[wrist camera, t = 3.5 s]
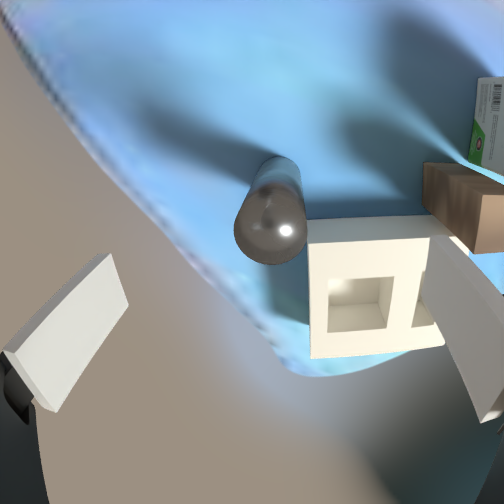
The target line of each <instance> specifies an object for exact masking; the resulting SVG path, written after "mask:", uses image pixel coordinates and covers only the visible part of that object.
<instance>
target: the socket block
mask: <svg viewBox="0 0 504 504" xmlns="http://www.w3.org/2000/svg"><path fill="white" fill-rule="evenodd" d="M306 221H307V229H308V235H307V256H308V286H309V331H310V359H316V358H334V357H348V356H361V355H372V354H382V353H391V352H399V351H407V350H415V349H421V348H429V347H435V346H441V345H444V343H445V340H444V338H443V336H442V334H441V332H440V330H439V328H438V326H437V324H436V322H435V321H434V319H433V317H432V315H431V313H430V311H429V309H428V308H427V306H426V304H425V302H424V300H423V298H422V297H421V292H422V287H423V281H424V276H425V270H426V263H427V256H428V249H429V241H430V235H447V236H448V237H449V238H450V239H451V240H452V241H453V242H454V243H455V244H456V245H457V246H458V247H459V248H460V249H461V250H462V251H463V252H464V253H465V254H466V255H467V256H468V253H469V249H468V248H467V247H466V246H465V245H464V244H463V243H462V242H461V241H460V240H459V239H458V238H457V237H456V236H455V235H454V234H453V233H452V232H451V231H450V230H449V229H448V228H447V227H445V226H444V225H443V224H442V223H441V222H440V221H439V220H438V219H437V218H436V217H435V216H434V215H409V216H380V217H355V218H333V219H314V220H306Z"/></svg>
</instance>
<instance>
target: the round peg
mask: <svg viewBox="0 0 504 504" xmlns="http://www.w3.org/2000/svg"><path fill="white" fill-rule="evenodd" d="M307 235H308V229H307V221H306V213H305V205H304V197H303V190H302V183H301V176H300V171H299V169H298V167H297V165H296V164H295V163H294V162H293V161H291V160H290V159H288V158H285V157H273V158H270V159H268V160H267V161H265V162H264V163H263V164H262V166H261V167H260V169H259V171H258V173H257V175H256V177H255V179H254V181H253V183H252V186H251V188H250V190H249V192H248V194H247V196H246V198H245V200H244V202H243V204H242V206H241V208H240V210H239V212H238V214H237V217H236V219H235V223H234V237H235V240H236V243H237V245H238V247H239V248H240V250H241V251H242V252H243V253H244V254H245V255H246V256H247V257H249V258H250V259H252V260H254V261H256V262H258V263H262V264H267V265H276V264H282V263H285V262H287V261H289V260H291V259H293V258H294V257H296V256H297V255H298V254H299V253H300V252H301V250H302V249H303V247H304V245H305V243H306V240H307Z"/></svg>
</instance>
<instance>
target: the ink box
mask: <svg viewBox="0 0 504 504" xmlns="http://www.w3.org/2000/svg"><path fill="white" fill-rule="evenodd" d="M468 162H469V163H472V164H475V165H477V166H480V167H482V168H485V169H487V170H490V171H492V172H494V173H497V174H499V175H501V176H504V77H484V78H478V83H477V97H476V107H475V116H474V123H473V131H472V137H471V143H470V149H469V155H468Z"/></svg>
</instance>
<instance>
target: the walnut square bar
mask: <svg viewBox="0 0 504 504" xmlns="http://www.w3.org/2000/svg"><path fill="white" fill-rule="evenodd" d="M422 206H423V207H425V208H426V209H427V210H428V211H429V212H430V213H431V214H432V215H434V216H435V217H436V218H437V219H438V220H439V221H440V222H441V223H442V224H443V225H444V226H445V227H447V228H448V229H449V230H450V231H451V232H452V233H453V234H454V235H455V236H456V237H457V238H458V239H459V240H460V241H461V242H462V243H463V244H464V245H465V246H466V247H467V248H468V249H469V250H470V251H471V252H472V253H473V254H484V253H497V252H504V185H503V184H501V183H499V182H497V181H495V180H493V179H491V178H489V177H487V176H485V175H483V174H481V173H479V172H477V171H475V170H472V169H470V168H468V167H466V166H464V165H462V164H459V163H437V162H423V187H422Z"/></svg>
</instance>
